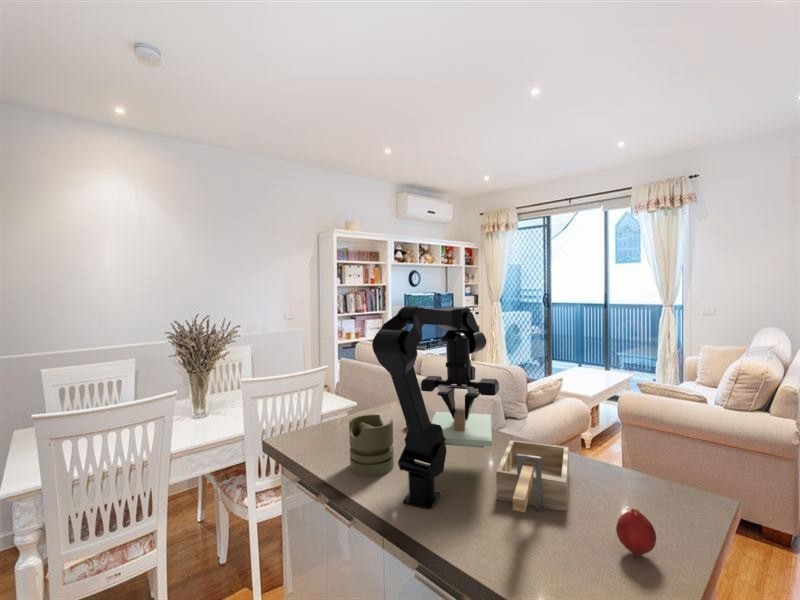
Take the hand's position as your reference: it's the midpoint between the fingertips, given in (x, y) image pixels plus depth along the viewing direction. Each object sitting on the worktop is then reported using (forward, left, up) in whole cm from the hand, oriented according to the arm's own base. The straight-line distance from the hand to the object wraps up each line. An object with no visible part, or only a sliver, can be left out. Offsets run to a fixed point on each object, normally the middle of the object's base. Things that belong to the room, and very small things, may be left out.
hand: (460, 419), depth 101 cm
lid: (0, 0, -4) cm, 4 cm away
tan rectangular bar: (-21, -18, -5) cm, 28 cm away
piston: (-6, +22, -13) cm, 27 cm away
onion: (-21, -36, -13) cm, 43 cm away
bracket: (-12, -18, -13) cm, 25 cm away
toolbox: (-1, -18, -13) cm, 22 cm away
